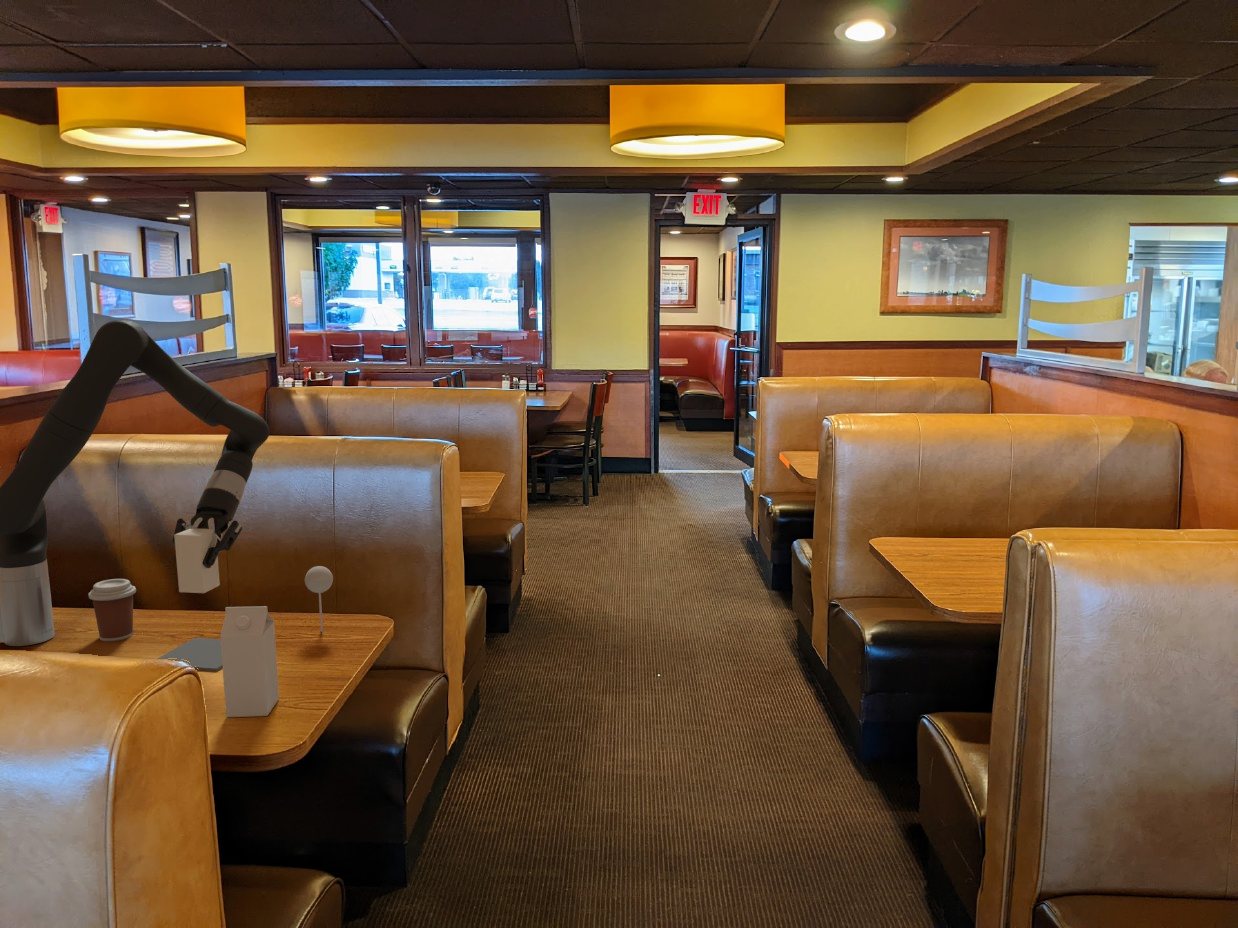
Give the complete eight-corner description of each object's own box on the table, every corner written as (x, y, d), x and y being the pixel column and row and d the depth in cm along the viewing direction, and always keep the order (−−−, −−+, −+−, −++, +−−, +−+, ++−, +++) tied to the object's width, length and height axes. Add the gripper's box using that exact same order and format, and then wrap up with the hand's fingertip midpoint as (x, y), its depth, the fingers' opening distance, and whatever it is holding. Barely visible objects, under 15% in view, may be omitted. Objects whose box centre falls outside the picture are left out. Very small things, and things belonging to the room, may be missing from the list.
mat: (148, 666, 181) (148, 663, 181) (194, 640, 196) (194, 637, 196) (217, 671, 179) (216, 668, 179) (258, 644, 194) (258, 641, 194)
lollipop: (326, 637, 198) (323, 571, 195) (302, 635, 199) (298, 569, 197) (340, 628, 204) (337, 563, 201) (317, 626, 205) (313, 561, 202)
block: (179, 591, 185) (174, 534, 183) (195, 583, 190) (191, 528, 188) (203, 593, 184) (199, 535, 182) (219, 585, 189) (215, 529, 187)
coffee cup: (147, 628, 203) (143, 577, 201) (127, 643, 194) (122, 589, 192) (106, 628, 203) (101, 577, 201) (83, 643, 194) (78, 589, 192)
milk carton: (239, 700, 166) (232, 601, 162) (279, 699, 166) (273, 600, 163) (226, 718, 159) (218, 614, 155) (267, 716, 159) (261, 612, 156)
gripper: (182, 485, 192) (150, 555, 182) (245, 487, 190) (216, 557, 180) (199, 504, 198) (169, 573, 188) (260, 506, 196) (233, 576, 186)
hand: (192, 565), depth 184 cm, fingers closed on block, 5 cm apart
